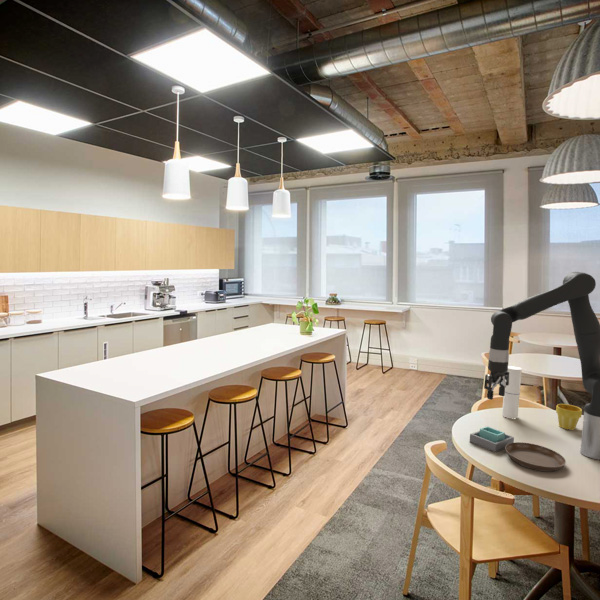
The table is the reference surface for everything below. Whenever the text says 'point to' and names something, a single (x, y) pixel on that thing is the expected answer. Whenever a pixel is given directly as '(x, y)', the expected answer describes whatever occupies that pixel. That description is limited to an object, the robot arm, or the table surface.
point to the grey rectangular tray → (488, 444)
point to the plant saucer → (535, 456)
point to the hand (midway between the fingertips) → (495, 397)
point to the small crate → (491, 434)
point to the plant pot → (568, 416)
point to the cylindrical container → (512, 393)
